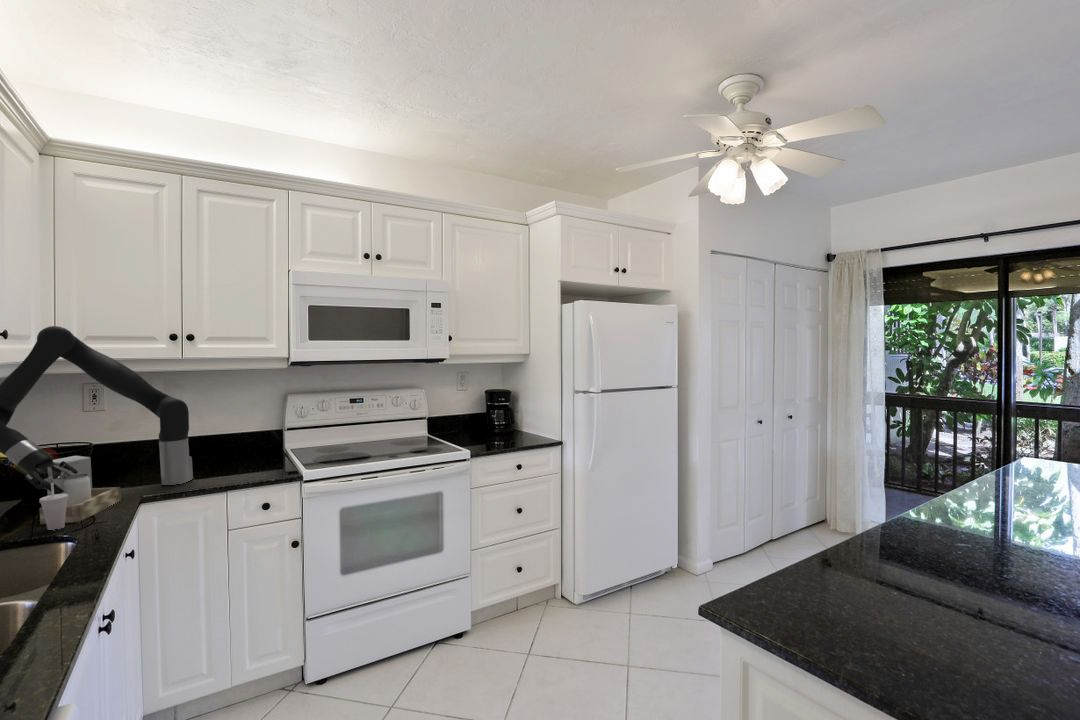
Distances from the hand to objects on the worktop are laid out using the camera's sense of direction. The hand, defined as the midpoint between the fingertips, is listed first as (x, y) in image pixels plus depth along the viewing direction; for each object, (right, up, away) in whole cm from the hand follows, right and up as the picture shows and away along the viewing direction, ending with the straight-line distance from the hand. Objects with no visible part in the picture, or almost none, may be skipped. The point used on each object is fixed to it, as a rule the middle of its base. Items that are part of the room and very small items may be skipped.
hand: (71, 489), depth 168 cm
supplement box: (-12, -7, +13) cm, 19 cm away
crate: (+3, -8, +1) cm, 8 cm away
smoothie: (+8, -8, -13) cm, 17 cm away
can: (+2, -8, +1) cm, 8 cm away
